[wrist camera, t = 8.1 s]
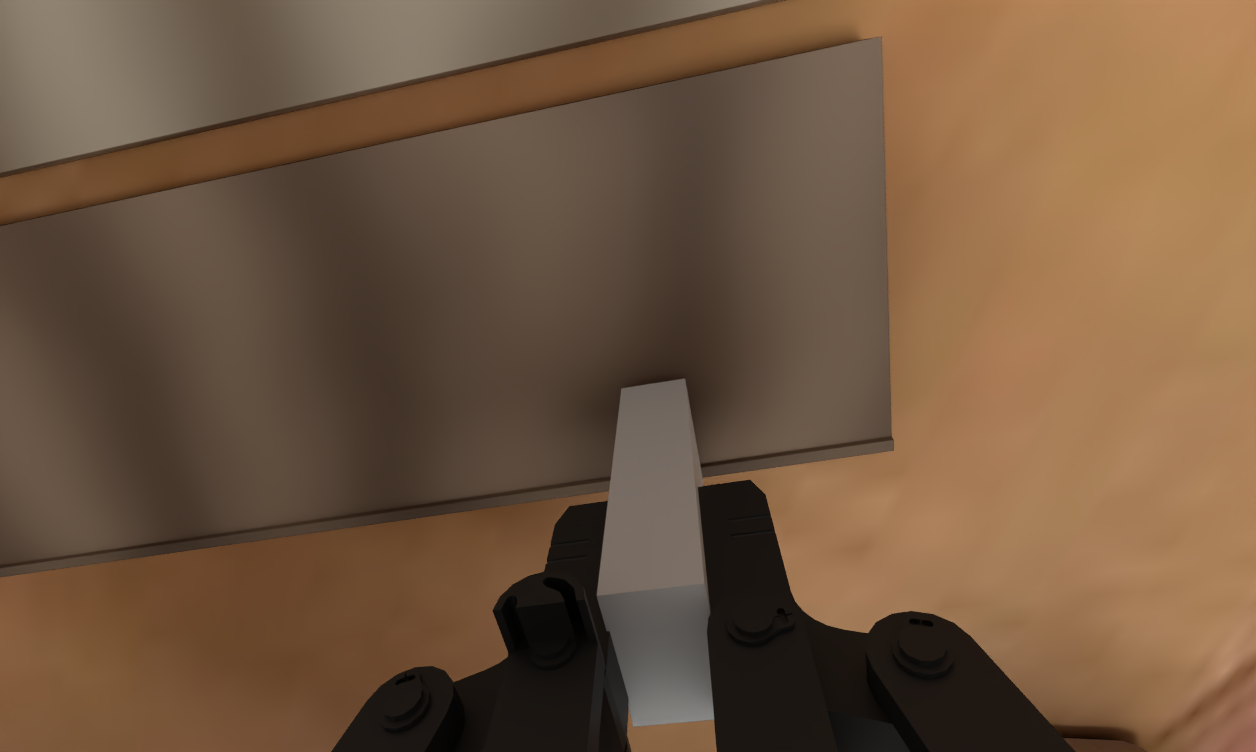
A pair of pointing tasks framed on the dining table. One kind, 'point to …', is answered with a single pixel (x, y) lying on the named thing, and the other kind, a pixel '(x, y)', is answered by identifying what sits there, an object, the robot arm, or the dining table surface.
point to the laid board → (262, 59)
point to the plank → (451, 317)
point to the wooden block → (1102, 745)
